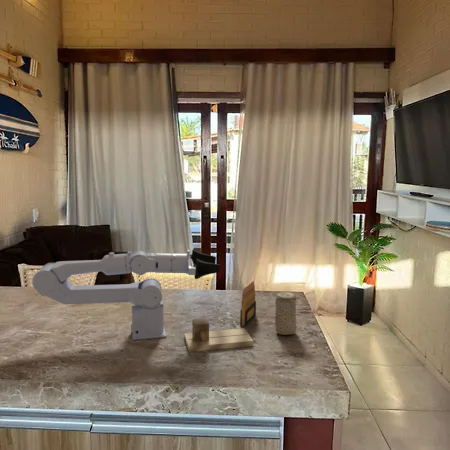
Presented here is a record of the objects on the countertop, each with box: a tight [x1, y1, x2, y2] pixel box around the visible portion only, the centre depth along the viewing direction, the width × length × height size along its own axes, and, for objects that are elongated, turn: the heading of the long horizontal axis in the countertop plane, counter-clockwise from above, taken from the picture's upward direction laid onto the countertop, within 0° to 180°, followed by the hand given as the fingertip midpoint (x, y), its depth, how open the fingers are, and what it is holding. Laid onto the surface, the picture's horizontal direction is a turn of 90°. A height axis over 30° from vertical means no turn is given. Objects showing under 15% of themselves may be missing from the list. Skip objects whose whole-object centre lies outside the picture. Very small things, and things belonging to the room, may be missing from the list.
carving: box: [274, 291, 297, 336], centre depth 125 cm, size 6×8×12 cm
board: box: [183, 327, 254, 353], centre depth 119 cm, size 18×9×2 cm, turn 103°
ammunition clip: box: [239, 281, 257, 328], centre depth 135 cm, size 11×2×12 cm, turn 159°
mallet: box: [191, 317, 210, 343], centre depth 115 cm, size 4×9×5 cm, turn 13°
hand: (217, 264), depth 126 cm, fingers open, 7 cm apart
